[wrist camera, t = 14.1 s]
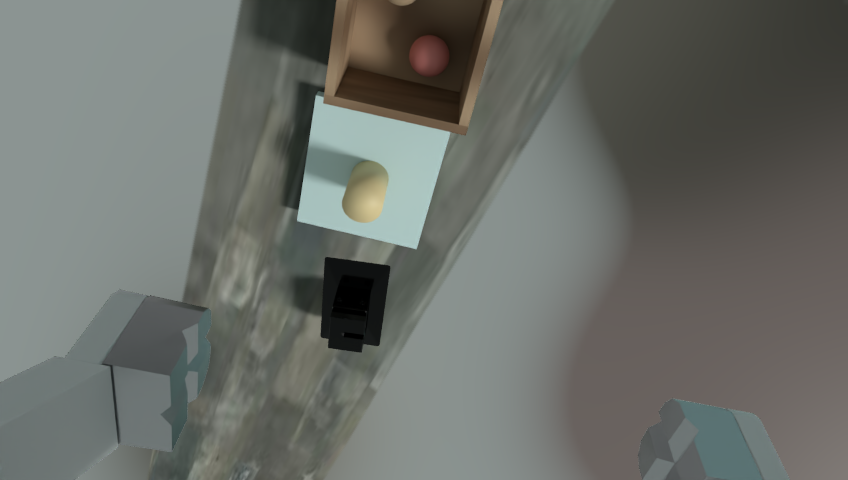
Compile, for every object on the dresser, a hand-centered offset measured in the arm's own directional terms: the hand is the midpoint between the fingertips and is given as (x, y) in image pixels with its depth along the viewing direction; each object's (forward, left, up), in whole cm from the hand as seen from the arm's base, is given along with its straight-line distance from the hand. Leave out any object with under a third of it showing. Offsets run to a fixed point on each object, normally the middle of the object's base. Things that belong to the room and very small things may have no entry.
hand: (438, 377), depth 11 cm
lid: (+15, -3, -34) cm, 38 cm away
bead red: (+5, -1, -34) cm, 34 cm away
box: (+3, -2, -34) cm, 34 cm away
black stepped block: (+29, -2, -35) cm, 45 cm away
